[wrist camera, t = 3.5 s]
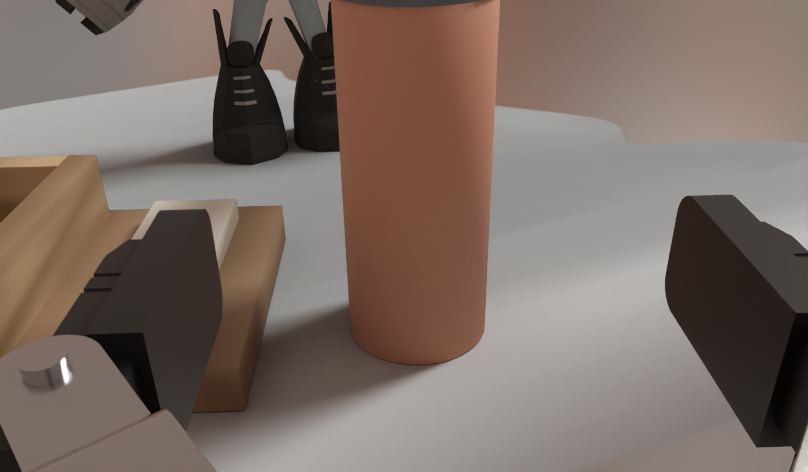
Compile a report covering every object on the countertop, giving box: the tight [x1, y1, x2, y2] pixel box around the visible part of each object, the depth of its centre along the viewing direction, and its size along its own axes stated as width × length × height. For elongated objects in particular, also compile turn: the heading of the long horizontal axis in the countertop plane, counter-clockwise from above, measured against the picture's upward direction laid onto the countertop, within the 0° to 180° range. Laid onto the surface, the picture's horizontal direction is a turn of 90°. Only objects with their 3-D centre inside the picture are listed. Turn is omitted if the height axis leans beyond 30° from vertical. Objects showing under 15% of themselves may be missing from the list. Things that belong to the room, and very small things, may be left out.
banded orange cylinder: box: [331, 0, 500, 365], centre depth 20 cm, size 4×4×14 cm
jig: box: [0, 155, 285, 412], centre depth 23 cm, size 16×10×4 cm, turn 92°
